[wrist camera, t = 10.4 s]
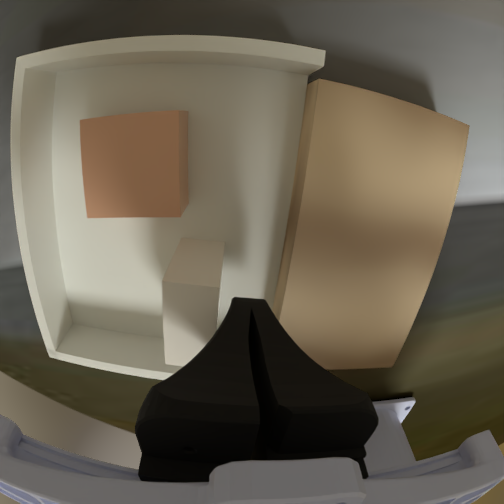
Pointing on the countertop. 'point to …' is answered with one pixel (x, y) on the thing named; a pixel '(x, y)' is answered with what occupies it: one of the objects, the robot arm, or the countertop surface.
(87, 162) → the terracotta tile
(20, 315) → the countertop surface
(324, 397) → the robot arm
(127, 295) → the tray
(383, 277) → the oak board
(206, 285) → the cream tile
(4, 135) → the countertop surface
